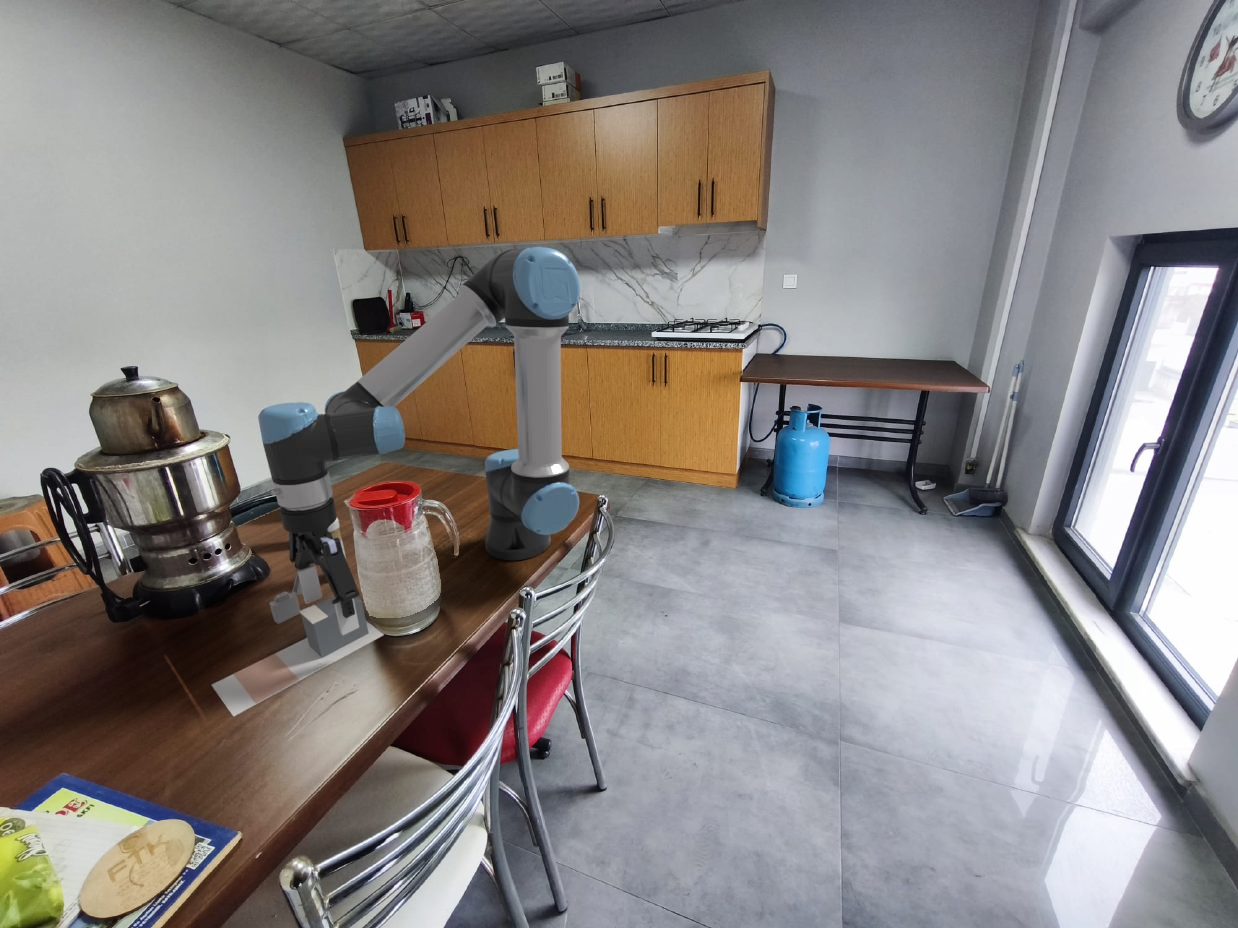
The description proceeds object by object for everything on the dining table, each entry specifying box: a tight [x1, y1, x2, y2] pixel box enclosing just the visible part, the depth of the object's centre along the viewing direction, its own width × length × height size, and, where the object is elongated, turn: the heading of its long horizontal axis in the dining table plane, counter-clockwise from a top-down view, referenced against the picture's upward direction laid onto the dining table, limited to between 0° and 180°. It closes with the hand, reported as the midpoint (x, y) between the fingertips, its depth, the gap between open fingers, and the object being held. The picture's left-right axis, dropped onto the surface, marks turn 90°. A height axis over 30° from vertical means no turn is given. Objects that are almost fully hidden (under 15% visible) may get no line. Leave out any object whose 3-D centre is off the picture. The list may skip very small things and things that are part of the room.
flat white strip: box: [211, 620, 385, 717], centre depth 87 cm, size 23×10×1 cm, turn 141°
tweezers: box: [284, 680, 359, 741], centre depth 74 cm, size 17×5×2 cm, turn 160°
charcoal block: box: [299, 595, 369, 658], centre depth 90 cm, size 8×5×7 cm, turn 141°
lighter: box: [268, 571, 303, 625], centre depth 98 cm, size 7×2×8 cm, turn 146°
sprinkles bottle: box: [322, 517, 347, 559], centre depth 109 cm, size 5×5×13 cm
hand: (331, 614), depth 89 cm, fingers open, 13 cm apart
